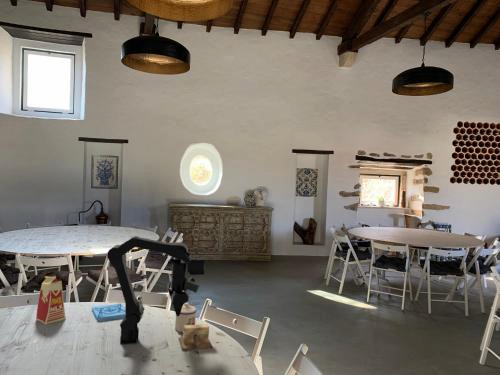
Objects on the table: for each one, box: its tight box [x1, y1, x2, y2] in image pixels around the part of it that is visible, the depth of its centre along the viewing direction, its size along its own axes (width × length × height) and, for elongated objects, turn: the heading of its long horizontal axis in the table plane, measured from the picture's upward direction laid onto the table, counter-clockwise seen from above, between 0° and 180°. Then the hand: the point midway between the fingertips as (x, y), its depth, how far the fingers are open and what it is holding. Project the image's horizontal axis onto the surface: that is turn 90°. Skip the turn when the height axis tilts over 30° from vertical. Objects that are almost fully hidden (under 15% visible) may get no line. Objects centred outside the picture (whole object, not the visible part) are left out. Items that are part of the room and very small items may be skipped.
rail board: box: [178, 334, 213, 351], centre depth 159 cm, size 12×10×4 cm
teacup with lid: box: [174, 302, 197, 333], centre depth 174 cm, size 12×9×12 cm
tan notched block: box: [182, 323, 210, 344], centre depth 159 cm, size 10×3×6 cm, turn 108°
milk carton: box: [35, 275, 66, 325], centre depth 173 cm, size 9×9×20 cm
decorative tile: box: [91, 303, 126, 322], centre depth 184 cm, size 14×14×2 cm
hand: (176, 311), depth 159 cm, fingers open, 9 cm apart
